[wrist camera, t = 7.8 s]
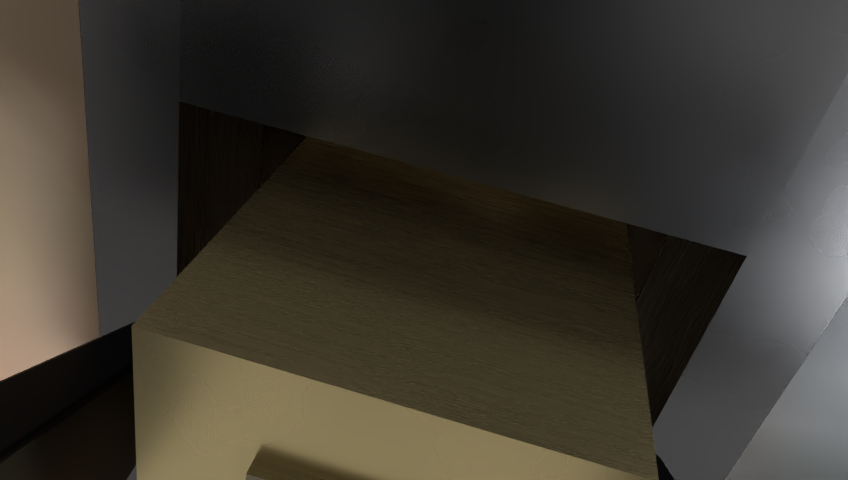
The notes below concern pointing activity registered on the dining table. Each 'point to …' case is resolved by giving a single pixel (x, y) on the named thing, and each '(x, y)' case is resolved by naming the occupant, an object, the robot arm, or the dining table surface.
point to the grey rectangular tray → (513, 154)
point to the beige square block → (395, 336)
